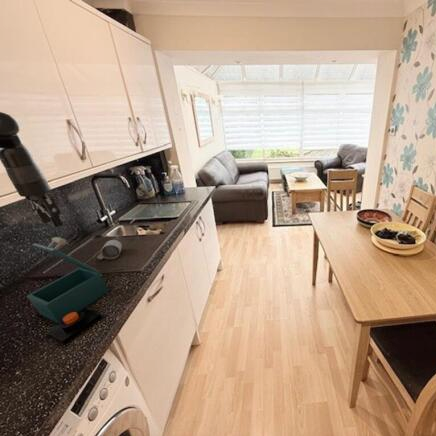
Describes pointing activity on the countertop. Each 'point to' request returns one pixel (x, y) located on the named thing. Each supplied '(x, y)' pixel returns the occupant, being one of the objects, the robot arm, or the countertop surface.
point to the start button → (70, 318)
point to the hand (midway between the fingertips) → (53, 224)
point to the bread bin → (68, 294)
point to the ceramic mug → (110, 250)
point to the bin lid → (62, 255)
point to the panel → (74, 326)
